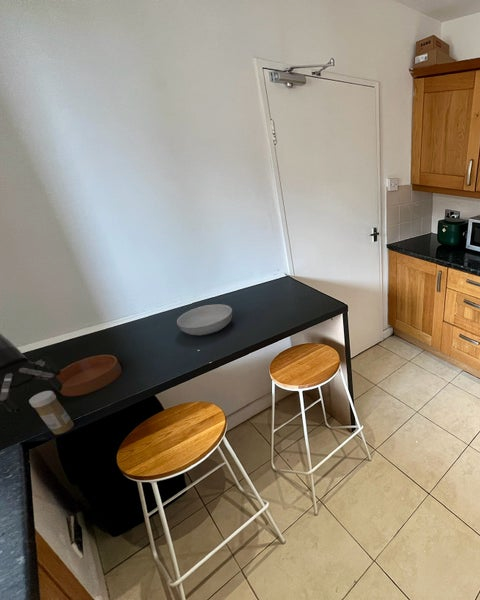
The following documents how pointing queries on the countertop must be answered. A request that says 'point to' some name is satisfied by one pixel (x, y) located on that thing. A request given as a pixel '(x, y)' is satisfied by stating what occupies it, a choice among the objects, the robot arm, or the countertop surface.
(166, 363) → the countertop surface
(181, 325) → the serving bowl
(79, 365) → the pan
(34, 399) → the sprinkles bottle
